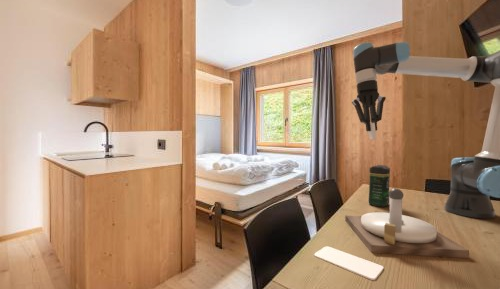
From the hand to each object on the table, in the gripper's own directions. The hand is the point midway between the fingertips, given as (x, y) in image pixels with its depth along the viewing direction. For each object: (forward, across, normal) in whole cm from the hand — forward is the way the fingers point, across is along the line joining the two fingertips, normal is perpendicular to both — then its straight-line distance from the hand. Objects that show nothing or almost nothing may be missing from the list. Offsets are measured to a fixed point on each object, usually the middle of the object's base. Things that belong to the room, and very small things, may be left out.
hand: (372, 139), depth 92 cm
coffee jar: (+31, -8, -17) cm, 36 cm away
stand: (+32, +5, +18) cm, 37 cm away
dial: (+30, +5, +18) cm, 35 cm away
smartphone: (+32, +27, +34) cm, 54 cm away
